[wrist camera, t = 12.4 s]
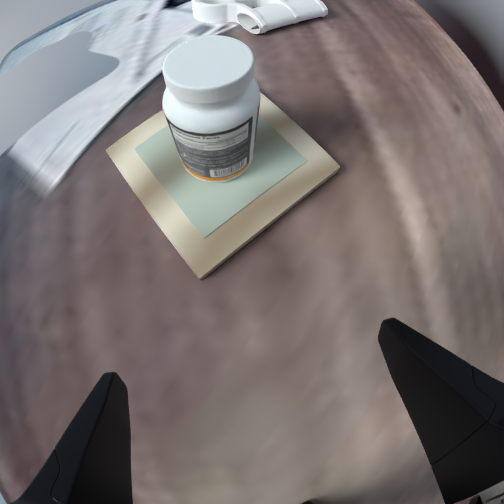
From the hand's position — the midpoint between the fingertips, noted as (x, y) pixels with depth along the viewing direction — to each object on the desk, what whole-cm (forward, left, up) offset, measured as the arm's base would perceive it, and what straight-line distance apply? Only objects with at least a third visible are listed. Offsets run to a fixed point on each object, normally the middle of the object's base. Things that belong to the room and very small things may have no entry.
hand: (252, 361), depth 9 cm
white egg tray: (+30, -27, -12) cm, 42 cm away
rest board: (+12, -7, -12) cm, 18 cm away
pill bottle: (+12, -7, -11) cm, 17 cm away
